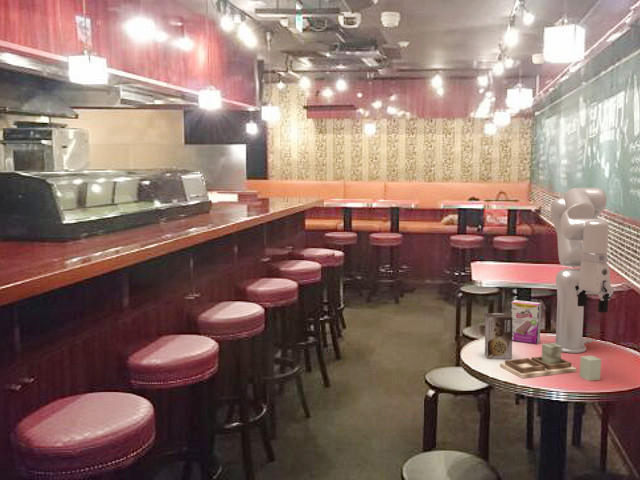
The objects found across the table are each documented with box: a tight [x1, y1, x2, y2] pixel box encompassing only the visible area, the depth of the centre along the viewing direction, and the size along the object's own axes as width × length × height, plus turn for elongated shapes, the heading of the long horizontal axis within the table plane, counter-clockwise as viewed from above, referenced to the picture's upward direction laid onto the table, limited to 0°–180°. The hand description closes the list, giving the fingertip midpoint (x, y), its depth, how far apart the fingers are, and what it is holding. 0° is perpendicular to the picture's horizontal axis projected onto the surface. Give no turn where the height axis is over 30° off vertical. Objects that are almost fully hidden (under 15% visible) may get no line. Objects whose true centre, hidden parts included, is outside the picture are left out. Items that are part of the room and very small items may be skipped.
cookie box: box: [484, 312, 513, 360], centre depth 230 cm, size 9×6×16 cm
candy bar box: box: [510, 299, 542, 345], centre depth 249 cm, size 11×5×16 cm, turn 59°
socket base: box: [499, 342, 578, 379], centre depth 215 cm, size 22×13×8 cm, turn 107°
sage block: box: [579, 354, 602, 382], centre depth 206 cm, size 4×4×7 cm
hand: (592, 309), depth 204 cm, fingers open, 9 cm apart
